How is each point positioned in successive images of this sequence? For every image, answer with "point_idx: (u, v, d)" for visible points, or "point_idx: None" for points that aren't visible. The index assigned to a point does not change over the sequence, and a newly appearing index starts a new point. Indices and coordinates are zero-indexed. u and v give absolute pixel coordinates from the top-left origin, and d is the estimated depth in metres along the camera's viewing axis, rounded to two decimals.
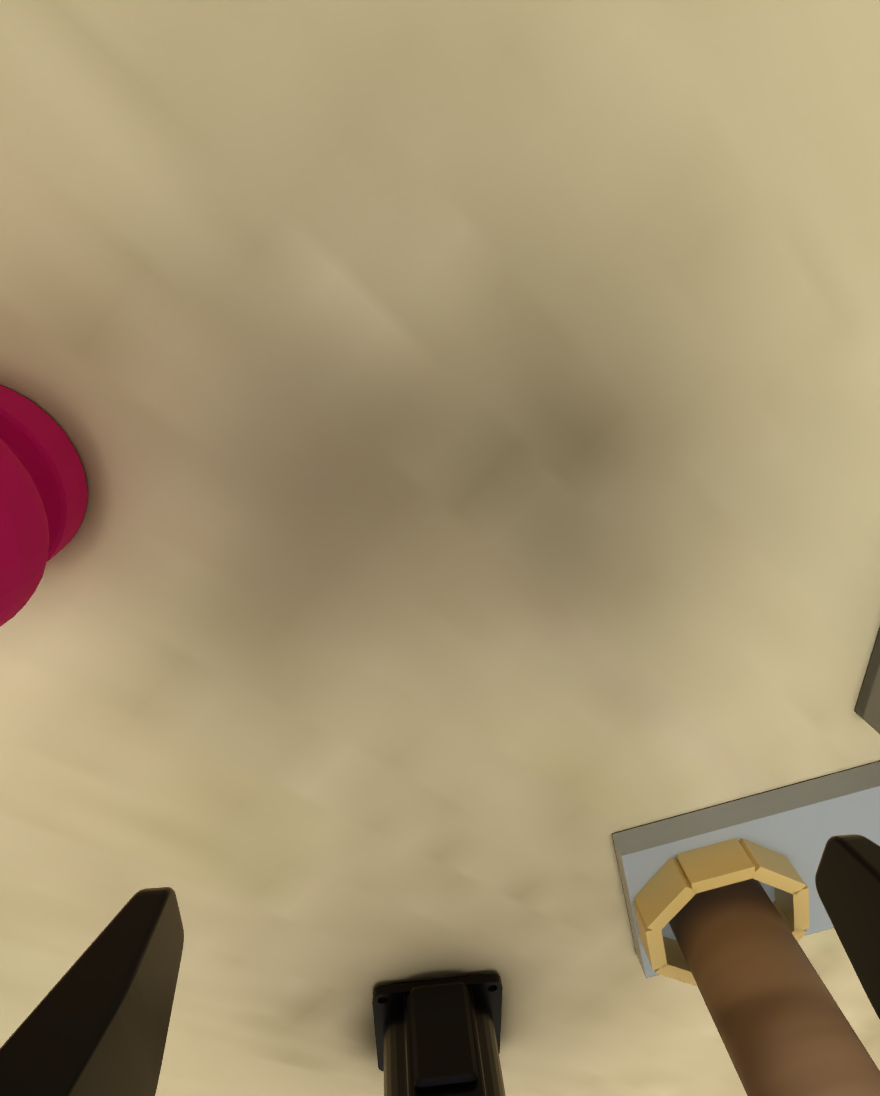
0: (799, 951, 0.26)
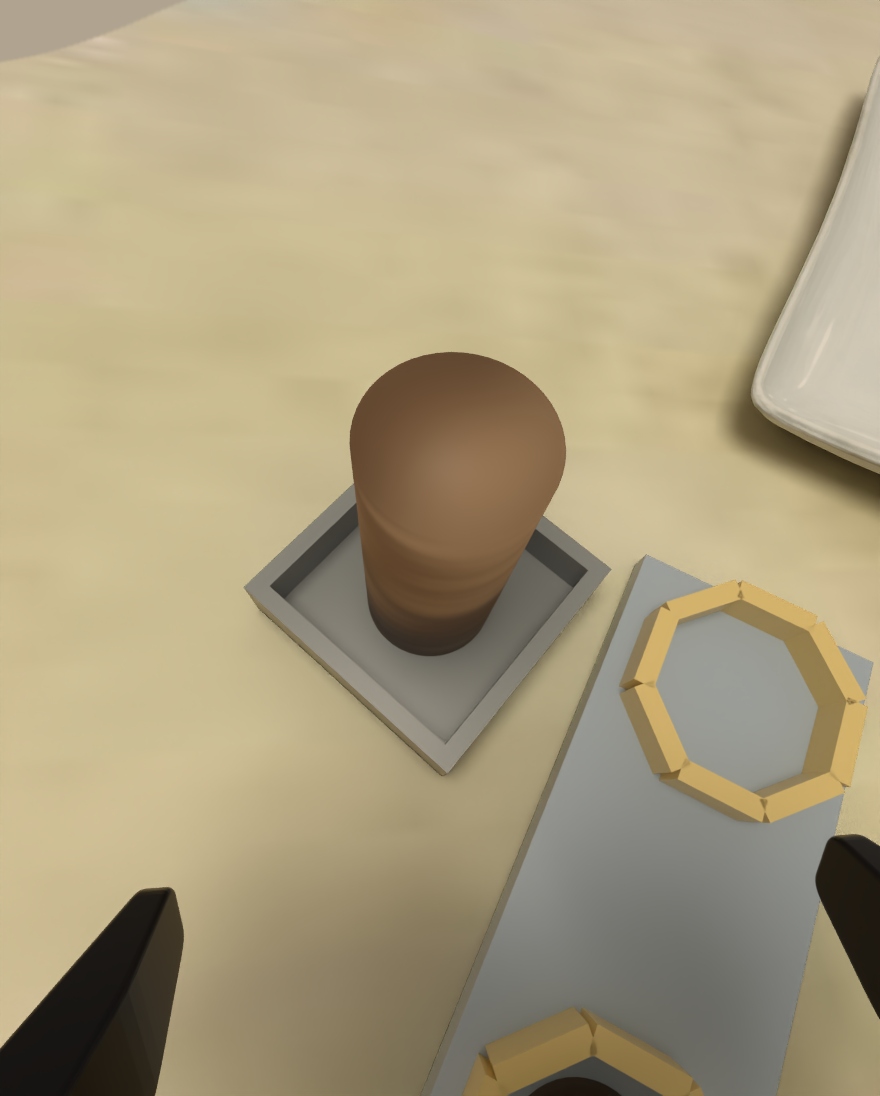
0: None
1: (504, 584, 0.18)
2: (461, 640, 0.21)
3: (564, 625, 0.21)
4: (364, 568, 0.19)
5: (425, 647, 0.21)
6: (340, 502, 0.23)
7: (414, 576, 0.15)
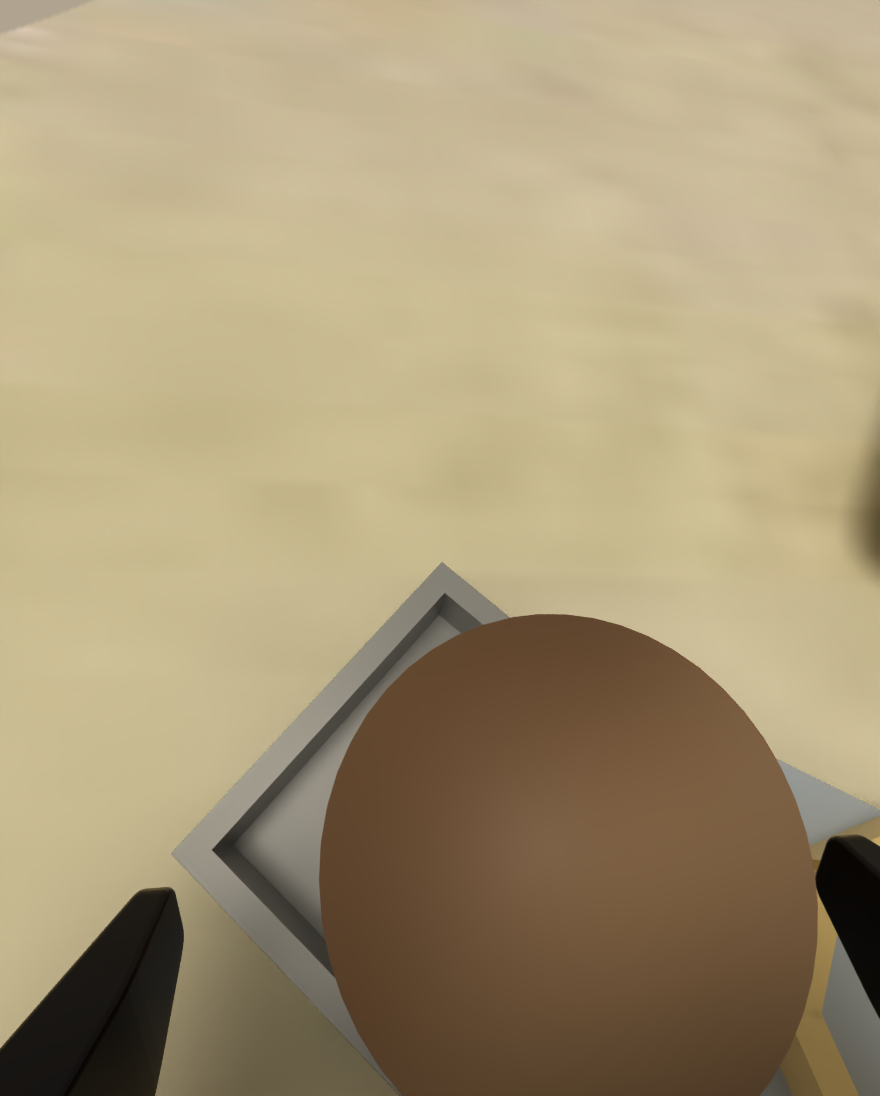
0: None
1: None
2: None
3: None
4: None
5: None
6: (323, 699, 0.15)
7: None
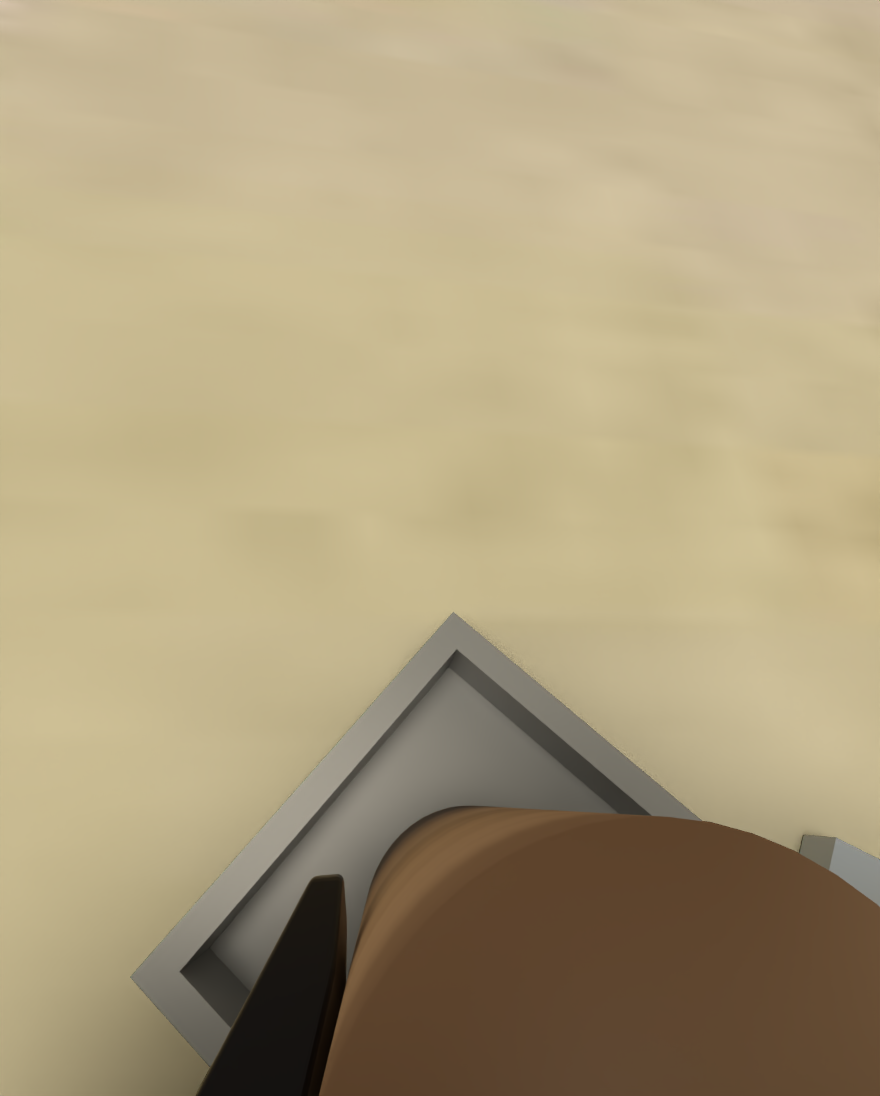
0: None
1: None
2: None
3: None
4: None
5: None
6: (315, 781, 0.13)
7: None
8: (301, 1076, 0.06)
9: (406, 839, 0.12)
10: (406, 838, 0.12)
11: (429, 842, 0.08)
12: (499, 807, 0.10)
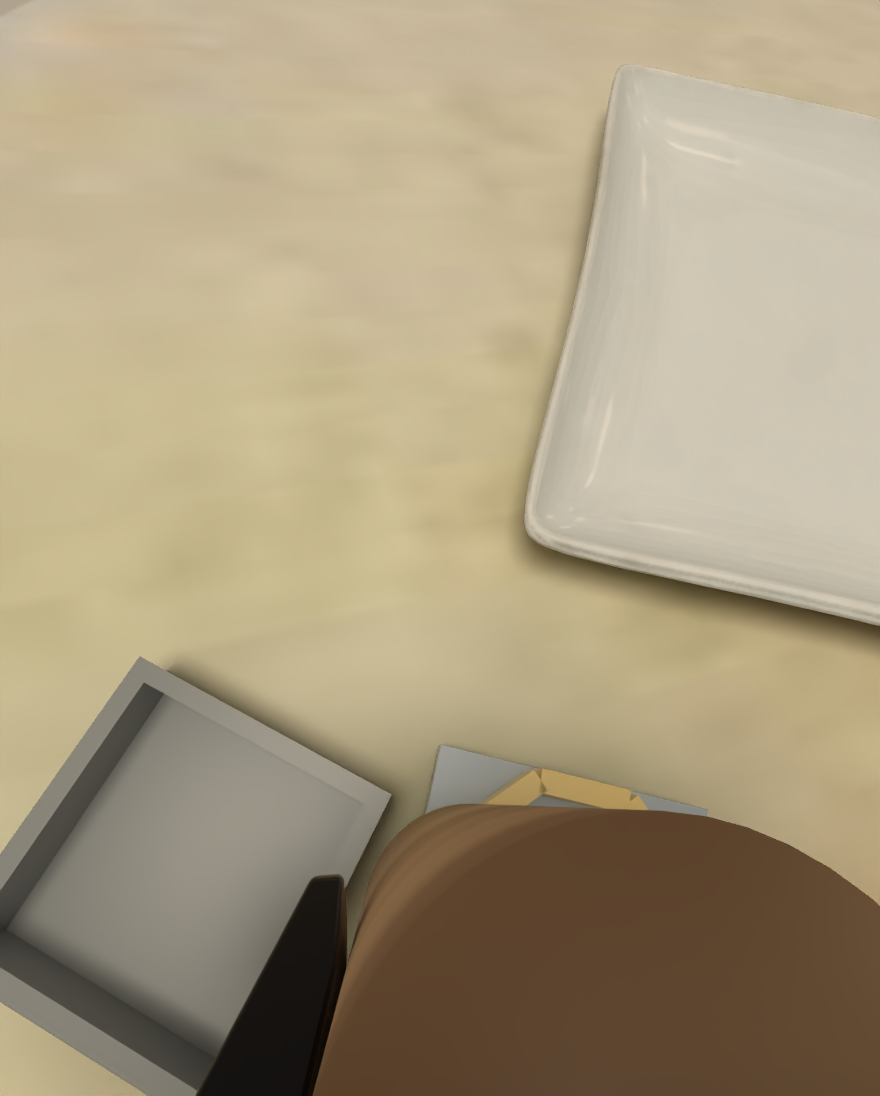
0: None
1: None
2: None
3: None
4: None
5: None
6: (47, 797, 0.18)
7: None
8: (301, 1076, 0.06)
9: (404, 837, 0.12)
10: (404, 836, 0.12)
11: (426, 839, 0.08)
12: None
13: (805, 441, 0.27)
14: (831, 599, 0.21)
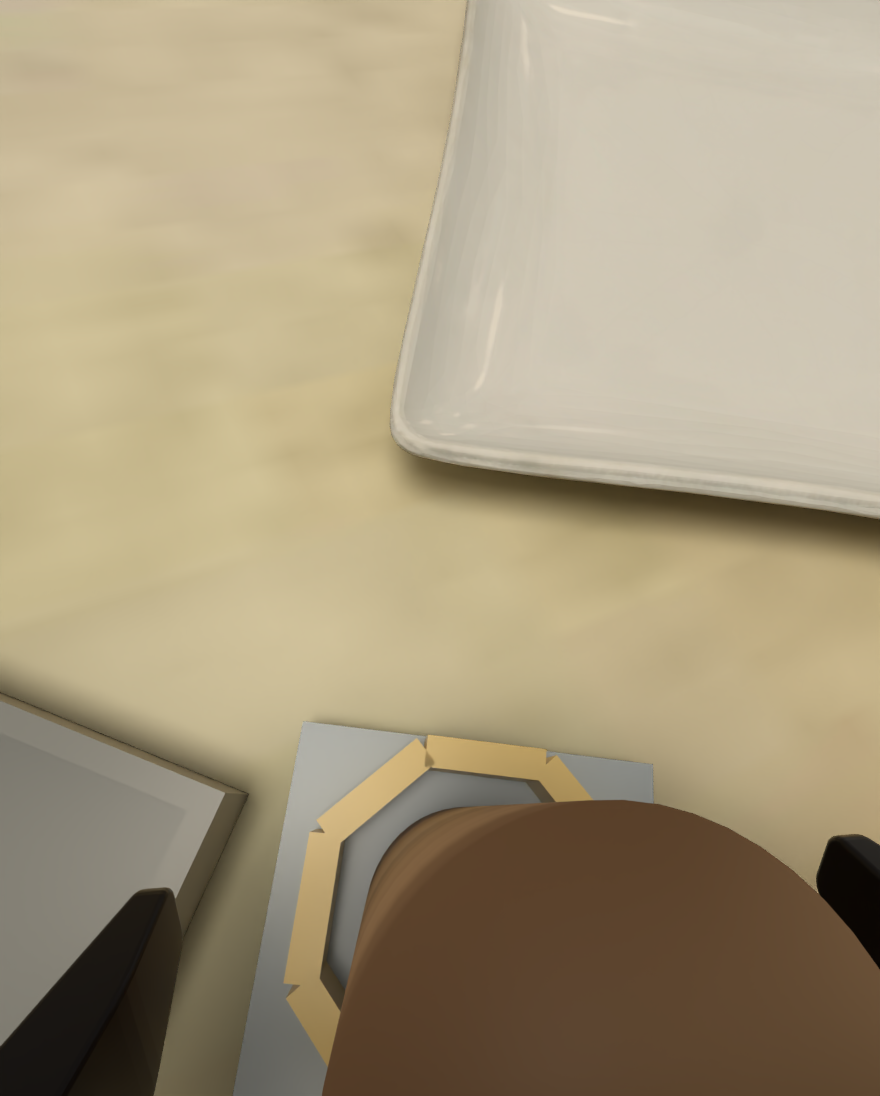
0: None
1: None
2: None
3: None
4: None
5: None
6: None
7: None
8: None
9: (405, 836, 0.12)
10: (405, 836, 0.13)
11: (426, 834, 0.09)
12: None
13: (736, 320, 0.23)
14: (780, 484, 0.17)
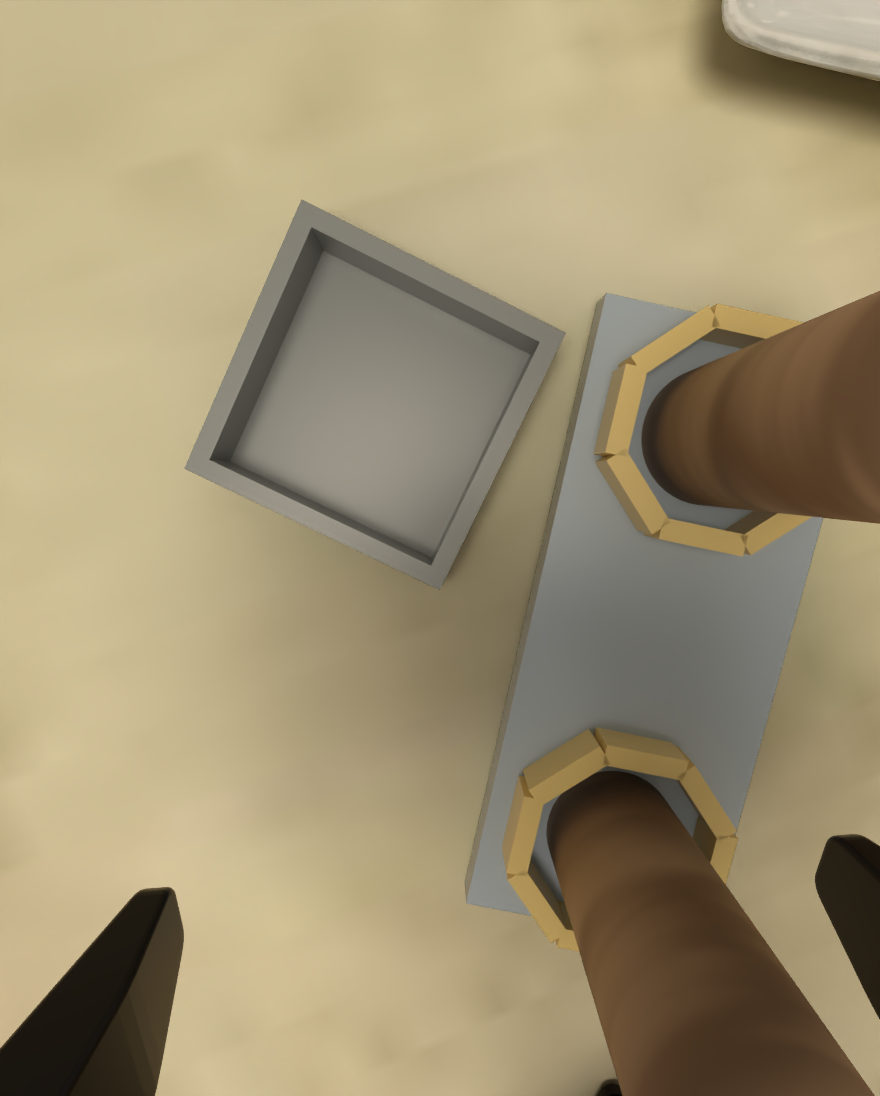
0: (613, 838, 0.19)
1: None
2: None
3: (524, 414, 0.20)
4: (695, 440, 0.17)
5: None
6: (246, 341, 0.20)
7: (828, 511, 0.13)
8: None
9: (710, 364, 0.18)
10: (707, 365, 0.18)
11: (792, 328, 0.14)
12: None
13: None
14: None
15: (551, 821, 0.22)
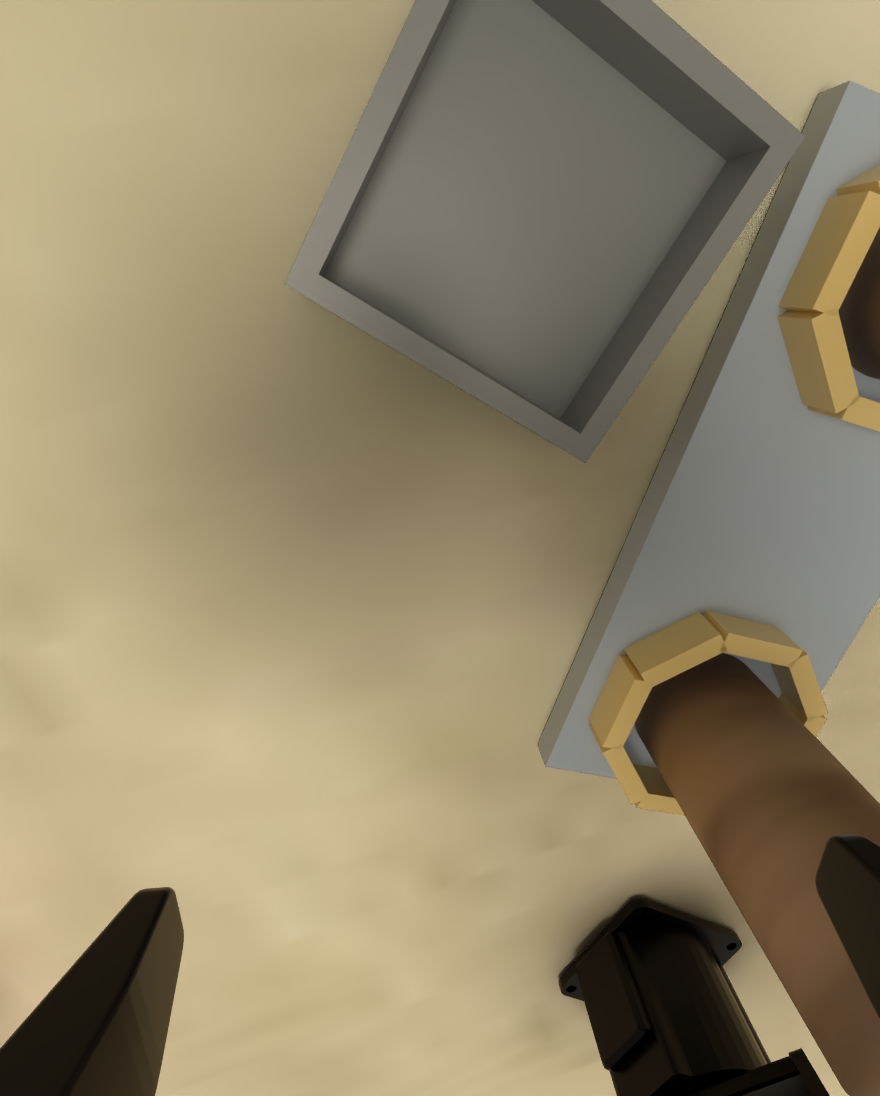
0: (741, 729, 0.18)
1: None
2: None
3: (728, 248, 0.16)
4: None
5: None
6: (380, 97, 0.14)
7: None
8: None
9: None
10: None
11: None
12: None
13: None
14: None
15: None
